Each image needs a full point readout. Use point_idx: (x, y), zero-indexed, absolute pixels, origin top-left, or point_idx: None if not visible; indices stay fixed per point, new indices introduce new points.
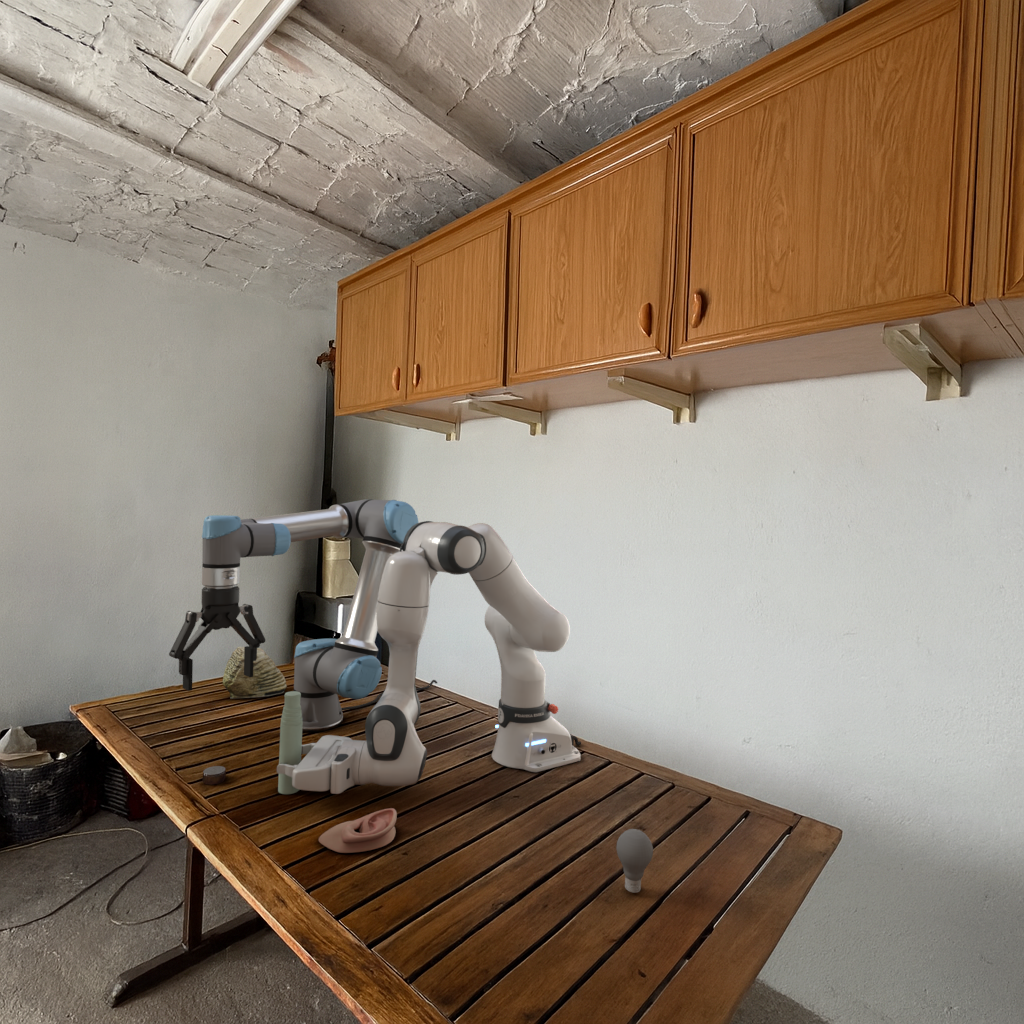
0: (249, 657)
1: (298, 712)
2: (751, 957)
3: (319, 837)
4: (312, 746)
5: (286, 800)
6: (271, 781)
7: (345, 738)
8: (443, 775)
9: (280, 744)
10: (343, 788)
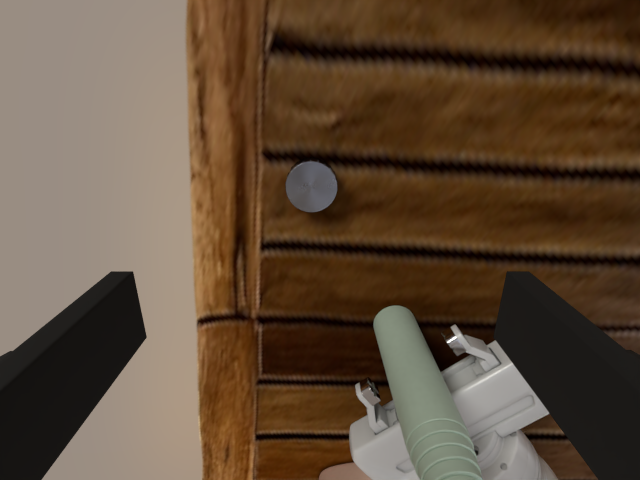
0: (575, 433)
1: None
2: None
3: (324, 471)
4: (480, 363)
5: (364, 352)
6: (394, 270)
7: None
8: None
9: (393, 392)
10: None
